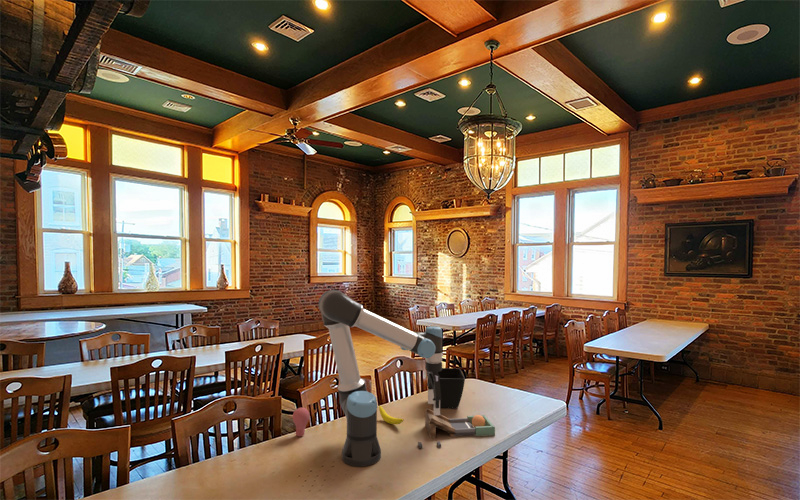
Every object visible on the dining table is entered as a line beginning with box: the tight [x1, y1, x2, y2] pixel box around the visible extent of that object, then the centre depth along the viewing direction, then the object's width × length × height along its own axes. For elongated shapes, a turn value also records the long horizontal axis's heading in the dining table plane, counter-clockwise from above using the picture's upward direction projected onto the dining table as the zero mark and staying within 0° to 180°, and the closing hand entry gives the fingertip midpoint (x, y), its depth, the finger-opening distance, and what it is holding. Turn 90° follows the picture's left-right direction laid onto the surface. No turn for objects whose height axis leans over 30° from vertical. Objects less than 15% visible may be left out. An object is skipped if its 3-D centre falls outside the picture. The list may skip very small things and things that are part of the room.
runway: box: [449, 417, 476, 437], centre depth 175 cm, size 10×12×3 cm
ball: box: [472, 414, 485, 428], centre depth 176 cm, size 6×6×6 cm
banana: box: [378, 404, 405, 425], centre depth 182 cm, size 3×19×6 cm, turn 39°
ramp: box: [424, 407, 456, 438], centre depth 174 cm, size 12×12×8 cm
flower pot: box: [426, 367, 466, 409], centre depth 207 cm, size 19×19×17 cm
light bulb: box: [292, 407, 310, 437], centre depth 168 cm, size 7×7×12 cm
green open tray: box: [466, 414, 496, 437], centre depth 176 cm, size 9×13×4 cm, turn 6°
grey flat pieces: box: [417, 440, 442, 449], centre depth 159 cm, size 9×3×1 cm, turn 96°
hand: (433, 409), depth 174 cm, fingers open, 13 cm apart
